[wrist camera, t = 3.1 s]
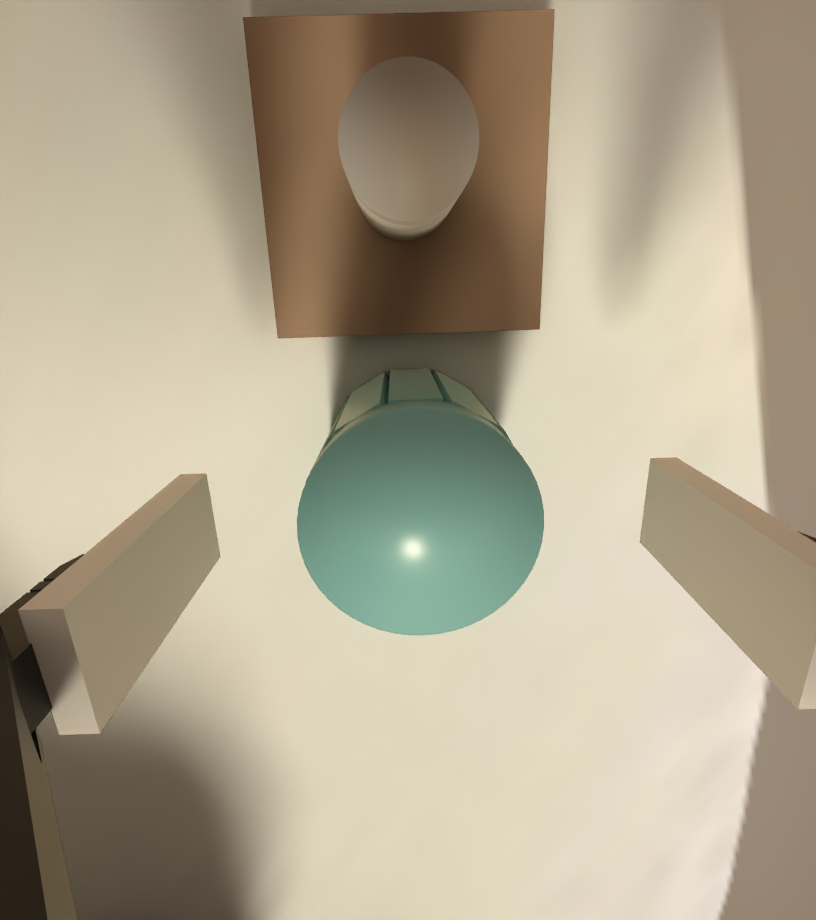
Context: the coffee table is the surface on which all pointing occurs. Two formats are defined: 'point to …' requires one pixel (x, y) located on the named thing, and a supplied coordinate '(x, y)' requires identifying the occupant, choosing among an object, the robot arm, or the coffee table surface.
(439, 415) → the cap
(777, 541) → the robot arm
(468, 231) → the post base
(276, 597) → the coffee table surface
